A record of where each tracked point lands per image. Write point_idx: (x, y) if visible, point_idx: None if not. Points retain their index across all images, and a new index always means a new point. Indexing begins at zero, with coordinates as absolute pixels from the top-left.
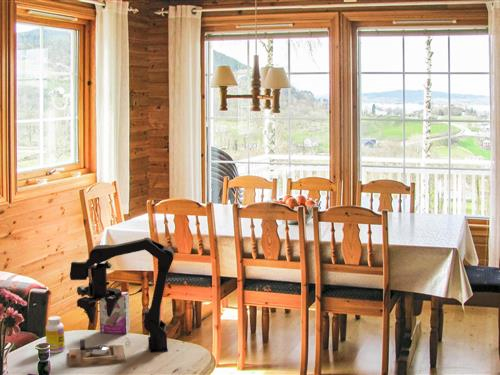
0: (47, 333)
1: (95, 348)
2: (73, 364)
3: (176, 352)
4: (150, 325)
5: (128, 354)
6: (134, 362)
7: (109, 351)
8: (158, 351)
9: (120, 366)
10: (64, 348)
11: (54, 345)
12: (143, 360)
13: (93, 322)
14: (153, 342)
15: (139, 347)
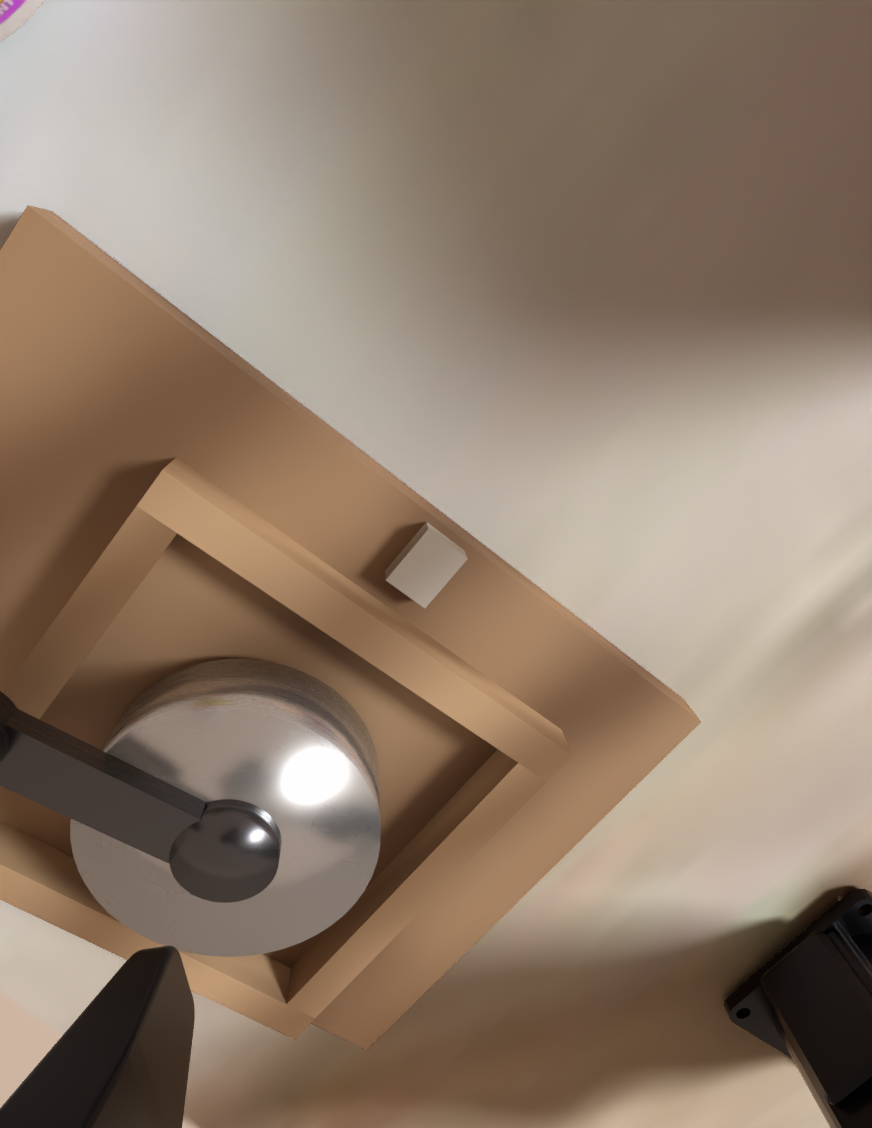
0: None
1: (152, 841)
2: None
3: None
4: None
5: (555, 883)
6: (421, 1065)
7: (419, 767)
8: (773, 1040)
9: (251, 1054)
10: (36, 3)
11: None
12: (514, 1081)
13: (188, 1047)
14: (821, 1096)
15: (798, 815)
